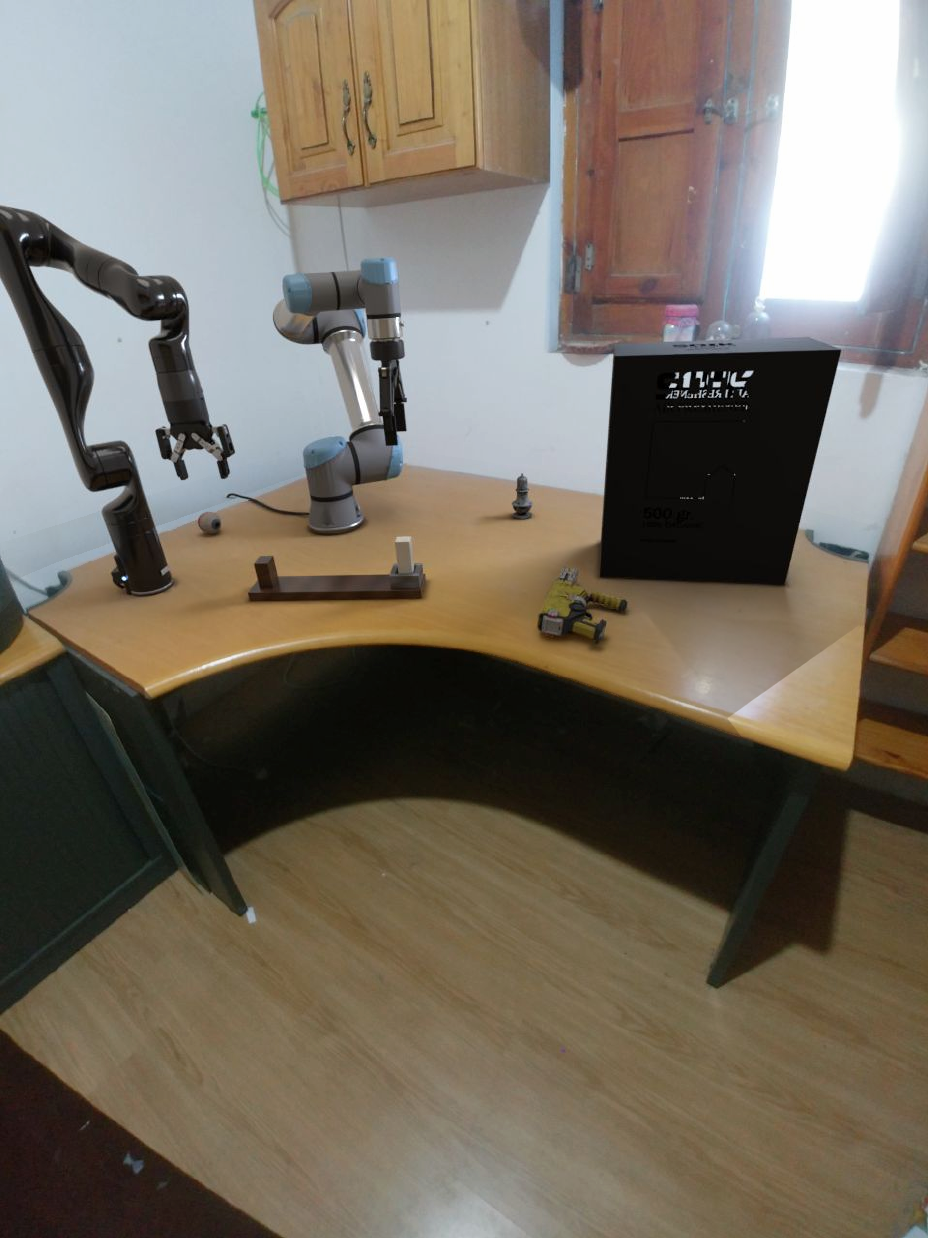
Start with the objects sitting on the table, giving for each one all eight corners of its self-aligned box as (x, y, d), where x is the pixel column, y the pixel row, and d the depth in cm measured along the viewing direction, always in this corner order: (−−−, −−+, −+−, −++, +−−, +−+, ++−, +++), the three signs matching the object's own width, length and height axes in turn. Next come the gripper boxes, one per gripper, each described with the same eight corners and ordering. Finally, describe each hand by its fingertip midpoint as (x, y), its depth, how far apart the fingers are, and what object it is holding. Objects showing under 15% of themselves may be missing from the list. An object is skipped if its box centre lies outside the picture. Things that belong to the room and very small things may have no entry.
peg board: (249, 600, 132) (241, 567, 128) (262, 584, 139) (254, 552, 135) (421, 598, 129) (418, 564, 125) (426, 581, 136) (423, 548, 132)
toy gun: (633, 576, 125) (562, 563, 129) (620, 630, 105) (537, 613, 109) (629, 596, 128) (560, 583, 132) (616, 653, 108) (534, 635, 111)
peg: (399, 584, 130) (394, 541, 125) (401, 578, 133) (397, 536, 128) (413, 584, 130) (409, 541, 125) (415, 578, 133) (411, 536, 128)
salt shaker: (531, 519, 165) (531, 476, 159) (510, 518, 166) (509, 476, 160) (533, 511, 170) (534, 469, 164) (513, 511, 171) (512, 469, 165)
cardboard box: (763, 546, 142) (808, 336, 120) (784, 584, 125) (841, 349, 103) (600, 540, 150) (614, 343, 127) (599, 576, 133) (614, 355, 110)
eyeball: (211, 538, 165) (205, 517, 162) (196, 534, 168) (190, 514, 165) (229, 530, 169) (223, 510, 166) (214, 527, 172) (209, 507, 169)
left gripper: (136, 400, 112) (162, 485, 121) (210, 397, 111) (231, 483, 119) (156, 393, 119) (180, 474, 127) (226, 390, 118) (245, 472, 126)
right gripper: (394, 344, 121) (404, 451, 131) (411, 333, 142) (419, 425, 153) (357, 346, 121) (370, 452, 132) (379, 334, 143) (389, 426, 154)
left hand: (205, 478), depth 123 cm, fingers open, 8 cm apart
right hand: (396, 438), depth 142 cm, fingers open, 13 cm apart
